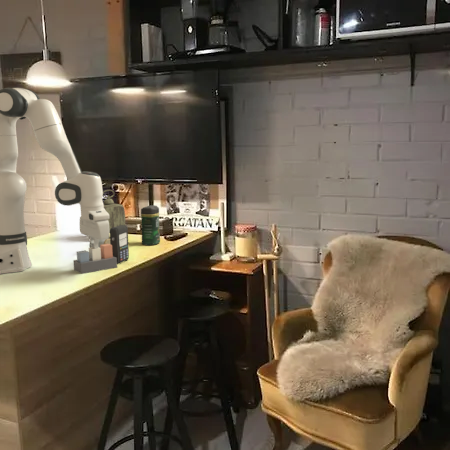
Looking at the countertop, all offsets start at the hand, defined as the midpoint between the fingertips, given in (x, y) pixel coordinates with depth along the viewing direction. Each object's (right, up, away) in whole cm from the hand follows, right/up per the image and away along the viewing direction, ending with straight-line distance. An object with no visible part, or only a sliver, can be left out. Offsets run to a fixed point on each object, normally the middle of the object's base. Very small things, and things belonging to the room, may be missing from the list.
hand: (95, 247), depth 219 cm
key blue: (-4, -7, -2) cm, 8 cm away
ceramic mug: (-4, -4, +31) cm, 32 cm away
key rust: (+4, -5, +4) cm, 7 cm away
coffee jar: (+16, 0, +48) cm, 51 cm away
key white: (0, -6, +1) cm, 6 cm away
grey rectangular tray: (0, -8, +2) cm, 9 cm away
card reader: (+8, -7, +13) cm, 16 cm away
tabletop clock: (-7, +2, +63) cm, 63 cm away
